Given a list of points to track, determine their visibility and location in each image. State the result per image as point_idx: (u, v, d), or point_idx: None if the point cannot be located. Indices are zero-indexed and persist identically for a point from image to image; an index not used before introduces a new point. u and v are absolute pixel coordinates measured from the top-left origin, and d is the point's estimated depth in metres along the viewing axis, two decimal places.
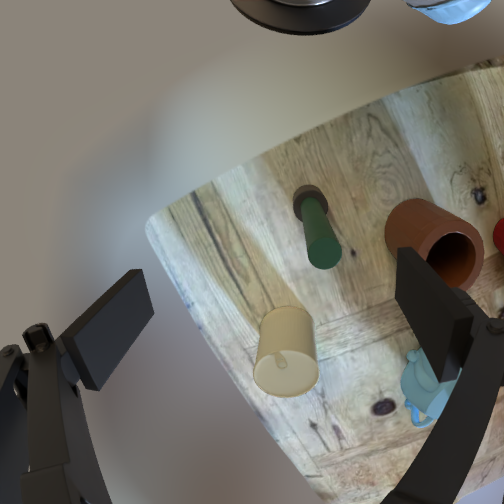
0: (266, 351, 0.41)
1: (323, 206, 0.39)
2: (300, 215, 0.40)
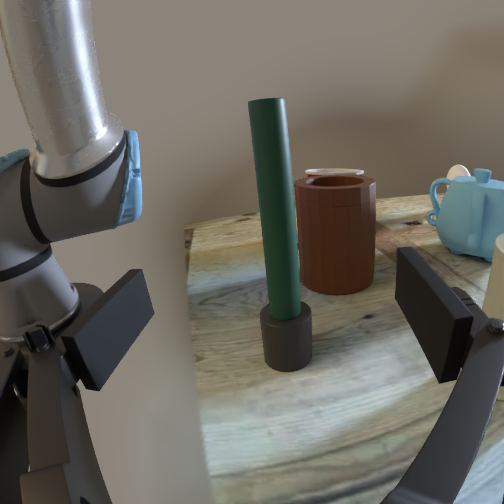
0: None
1: None
2: (295, 321, 0.25)
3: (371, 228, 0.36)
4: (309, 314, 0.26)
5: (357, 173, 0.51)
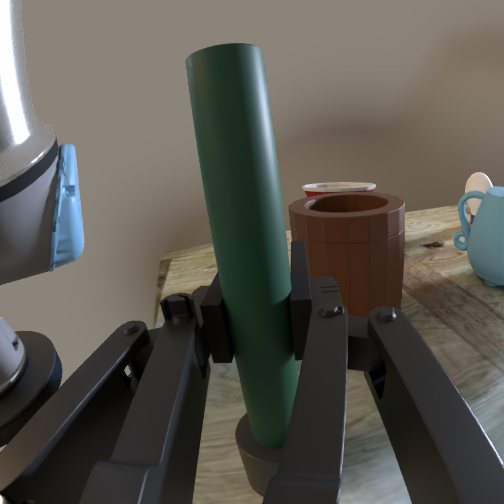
0: None
1: None
2: None
3: (400, 269, 0.24)
4: None
5: (369, 188, 0.40)
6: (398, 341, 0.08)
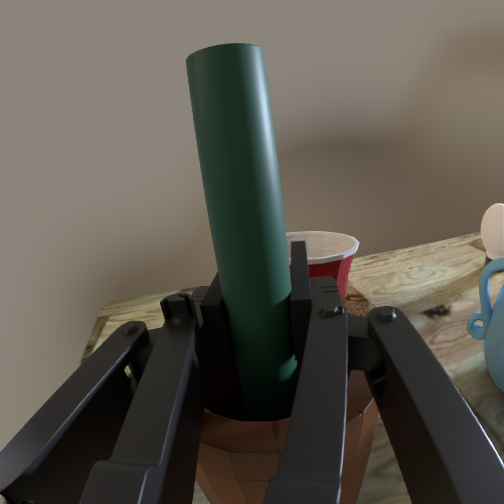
0: None
1: None
2: None
3: (357, 473, 0.11)
4: None
5: (346, 255, 0.27)
6: (398, 341, 0.08)
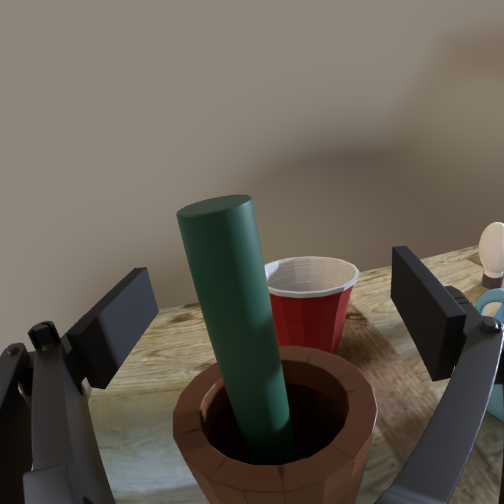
0: None
1: None
2: None
3: (350, 498, 0.12)
4: None
5: (346, 287, 0.28)
6: None
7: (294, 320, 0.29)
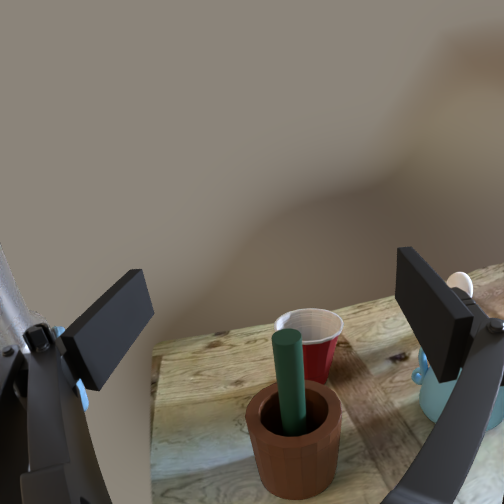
0: None
1: None
2: None
3: (331, 457, 0.28)
4: None
5: (334, 337, 0.44)
6: None
7: None
